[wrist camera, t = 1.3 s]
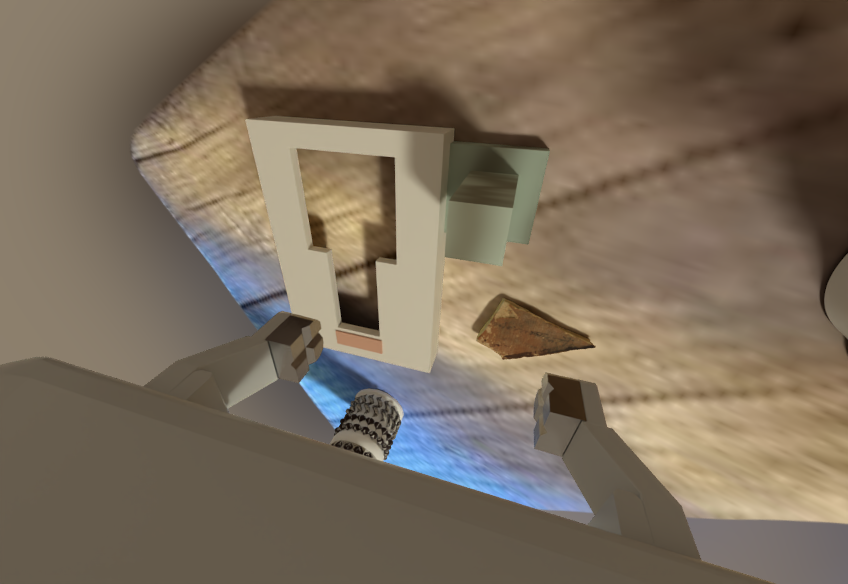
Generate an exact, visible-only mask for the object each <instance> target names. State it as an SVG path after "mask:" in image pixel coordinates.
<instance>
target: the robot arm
mask: <svg viewBox="0 0 848 584" xmlns="http://www.w3.org/2000/svg"><path fill="white" fill-rule="evenodd" d="M824 304H825V310H826V313H827V316H828V318H829V319H830V321H831V322H832V324H833V325H834V326H835V327H836V328H837V329H838V330H839V331H840V332H841V333H842V334H843V335H844V336H845V337H846V338H847V339H848V254H847V255H846V256H845V257H844V258H843V259H842V261H841V262H840V263H839V264H838V266H837V267H836V269H835V270H834V272H833V274H832V275H831V277H830V279H829V282H828V284H827V287H826V291H825V298H824ZM320 330H321V324H320V321H318V320H316V319H312V318H309V317H305V316H301V315H297V314H292V313H288V312H284V311H281V312H278V313H277V314H276V315H275V316H274V317H273V318H272V319H270V320H269V321H268V322H267V323H266V324H265V325H264V326H263V327H261V328H260V329H259V330H258V331H257V332H256V333H255V334H253V335H252V336H251V337H250V336H246V337H243V338H240V339H237V340H234V341H231V342H229V343H226V344H223V345H220V346H218V347H215V348H212V349H209V350H206V351H203V352H200V353H198V354H195V355H192V356H189V357H187V358H183V359H181V360H178V361H176V362H175V363H173V364H172V365H170V366H169V367H168V368H167V369H165V370H164V371H163V372H161V373H160V374H159V375H158V376H156V377H155V378H154V379H152V380H151V381H150V382H148V383H147V384H146V385H145V386H140V385H136V384H133V383H130V382H127V381H123V380H120V379H117V378H114V377H111V376H107V375H104V374H101V373H98V372H94V371H91V370H88V369H85V368H82V367H79V366H75V365H72V364H69V363H66V362H63V361H60V360H57V359H53V358H49V357H34V358H30V359H25V360H20V361H15V362H10V363H6V364H2V365H0V584H775V583H772V582H769V581H766V580H762V579H759V578H756V577H753V576H749V575H746V574H743V573H740V572H737V571H733V570H730V569H727V568H724V567H721V566H717V565H714V564H711V563H707V562H704V561H701V558H700V555H699V552H698V550H697V547H696V544H695V542H694V539H693V536H692V533H691V531H690V528H689V525H688V522H687V520H686V517H685V514H684V512H683V509H682V506H681V505H680V504H679V503H678V501H677V500H676V499H675V498H674V497H673V496H672V495H671V494H670V493H669V491H668V490H667V489H666V488H665V487H664V486H663V485H662V484H661V482H660V481H659V480H658V479H657V478H656V477H655V476H654V475H653V474H652V472H651V471H650V470H649V469H648V468H647V467H646V466H645V465H644V463H643V462H642V461H641V460H640V459H639V458H638V457H637V456H636V455H635V453H634V452H633V451H632V450H631V449H630V448H629V447H628V446H627V444H626V443H625V442H624V441H623V440H622V439H621V438H620V437H619V436H618V434H617V433H616V432H615V431H614V430H613V429H612V428H608V427H607V425H606V421H605V417H604V412H603V408H602V404H601V400H600V396H599V392H598V388H597V385H596V384H595V383H591V382H587V381H582V380H577V379H573V378H568V377H564V376H559V375H555V374H550V373H545V374H544V376H543V378H542V388H541V389H539V390H538V392H537V395H536V398H535V403H534V419H535V421H536V422H537V423H536V426H535V428H534V449H538V450H541V451H544V452H547V453H551V454H554V455H557V456H561V457H562V459H563V461H564V463H565V464H566V466H567V468H568V470H569V471H570V473H571V475H572V477H573V478H574V480H575V482H576V484H577V485H578V487H579V489H580V490H581V492H582V494H583V496H584V497H585V499H586V501H587V503H588V504H589V506H590V508H591V510H592V511H593V513H594V515H595V516H594V517H593V518H592V520H591V521H590V522H589V523H588V525H586V524H583V523H579V522H576V521H573V520H570V519H566V518H563V517H560V516H557V515H554V514H550V513H547V512H544V511H541V510H538V509H534V508H531V507H528V506H525V505H522V504H518V503H515V502H512V501H509V500H506V499H502V498H499V497H496V496H493V495H490V494H486V493H483V492H480V491H477V490H473V489H470V488H467V487H464V486H461V485H457V484H454V483H451V482H448V481H444V480H441V479H438V478H435V477H432V476H428V475H425V474H422V473H419V472H415V471H412V470H409V469H406V468H403V467H399V466H396V465H393V464H390V463H386V462H383V461H380V460H377V459H374V458H370V457H367V456H364V455H361V454H358V453H354V452H351V451H348V450H345V449H342V448H338V447H335V446H332V445H329V444H326V443H322V442H319V441H316V440H313V439H310V438H306V437H303V436H300V435H296V434H293V433H290V432H287V431H284V430H280V429H277V428H274V427H271V426H268V425H265V424H261V423H258V422H255V421H252V420H248V419H245V418H242V417H239V416H236V415H233V414H230V413H229V411H228V408H229V407H231V406H233V405H234V404H236V403H238V402H240V401H241V400H243V399H245V398H247V397H248V396H250V395H252V394H253V393H255V392H257V391H259V390H260V389H262V388H264V387H266V386H267V385H269V384H271V383H272V382H274V381H276V380H277V379H278V378H279V379H283V380H288V381H292V382H296V383H299V382H300V381H301V380H302V379H303V377H304V376H305V375H306V374H307V372H308V371H309V364H312V363H314V362H316V361H317V359H318V358H319V357H320V355H321V352H322V350H323V343H324V342H323V337H322V336H321V335H320V333H319V331H320Z"/></svg>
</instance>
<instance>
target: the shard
mask: <svg viewBox="0 0 848 584" xmlns="http://www.w3.org/2000/svg"><path fill="white" fill-rule="evenodd" d="M477 342H479V343H481V344H483V345H485V346H487V347H488V348H491V349H492V350H494V351H495V352H496V353H498V354H499V355H500V356H501V357H502V359H503V360H504V359H517V358H522V357H533V356H543V355H548V354H555V353H560V352H566V351H570V350H578V349H588V348H595V347H596V346H594V345H593V344H592V343H591V342H590V339H588V338H585V337H583V336H581V335H579V334H577V333H574V332H572V331H568V330H566V329H563V328H561V327H559V326H557V325H555V324H553V323H551V322H548V321H546V320H544V319H543V318H541V317H539V316H537V315H535V314H533V313H531V312H530V311H529V310H527V309H525V308H522V307H520V306H518V305H517V304H515V303H514V302H512V301H509V300H507V299H505V298H503V299H502V301H501V303H500V304H499V306H498V307H497V309H496V310H495V312H494V314H493V315H492V316H491V318H490V319H489V320H488V321H487V322H486V323H485V325H484V326H483V327H482V328H481V330H480V332H479V334H478V336H477Z"/></svg>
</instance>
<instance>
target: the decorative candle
mask: <svg viewBox="0 0 848 584" xmlns="http://www.w3.org/2000/svg"><path fill="white" fill-rule="evenodd" d="M346 413H347V414H346V415H345V417H344V419H341V420H340V423H341V424H340V425H339V427H337V428H336V429H335V434H334V437H333V439H332V441H331V443H330V445H332V446H335V447H338V448H342V449H345V450H348V451H351V452H354V453H358V454H361V455H364V456H367V457H370V458H374V459H377V460H380V461H383V460H386V459H387V455H388V454H389V450H390V449H391V445H392V444H393V441H392V440H394V439H395V437H396V434H397V432H398V429H399V426H400V425H401V420H402V417H403V415H404V414H403V409H402V407H401V405H400V404H399V403H398V401H397V400H396V399H395V398H393V397H392V396H391V395H389V394H387V393H385V392H383V391H380V390H377V389H370V388H368V389H363V390H361V391H359V392H358V393H357V394H356V396H355V401H351V406H350V409H347V410H346ZM392 433H393V434H392Z"/></svg>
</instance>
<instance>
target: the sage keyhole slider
mask: <svg viewBox="0 0 848 584" xmlns="http://www.w3.org/2000/svg"><path fill="white" fill-rule="evenodd" d="M549 152H550V150H549V148H537V147H524V146H511V145H499V144H486V143H473V142H460V141H453V142H452V143H450V156H449V171H448V185H447V199H446V213H445V227H444V233H446V244H445V257H448V258H454V259H460V260H467V261H473V262H479V263H485V264H492V265H498V266H502V264H503V258H504V253H505V248H506V242H507V241H508V242H515V243H522V244H529V239H530V235H531V231H532V226H533V222H534V218H535V213H536V209H537V205H538V200H539V196H540V191H541V187H542V183H543V178H544V174H545V170H546V165H547V161H548V157H549Z"/></svg>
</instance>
